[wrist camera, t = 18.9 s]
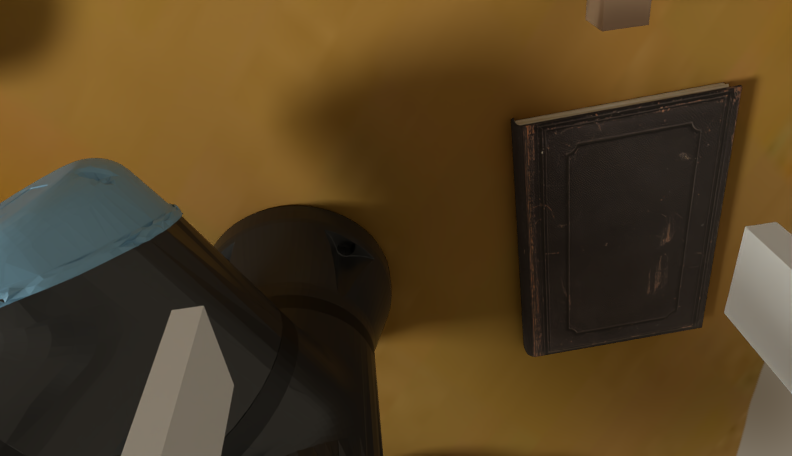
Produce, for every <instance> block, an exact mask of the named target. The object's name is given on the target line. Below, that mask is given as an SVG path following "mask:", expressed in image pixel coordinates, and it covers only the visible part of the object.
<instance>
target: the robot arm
mask: <svg viewBox="0 0 792 456" xmlns="http://www.w3.org/2000/svg"><path fill="white" fill-rule="evenodd" d="M182 214H183V213H182V212H181V210H180V209H179V207H178V206H176V205H174V204H168V203H167V202H166V201H164V200H163V199H162V198H161V197H160V196H159V195H157V194H156V193H155V192H154V191H153V190H152V189H150V188H149V187H148V186H147V185H146V184H145V183H143V182H142V181H141V180H140V179H139V178H138V177H137V176H135V175H134V174H133V173H132V172H131V171H130V170H128V169H127V168H125V167H124V166H123V165H121V164H119V163H117V162H114V161H111V160H108V159H102V158H89V159H83V160H78V161H75V162H72V163H70V164H68V165H65V166H63V167H61V168H59V169H57V170H55V171H54V172H52V173H50V174H48V175H46V176H45V177H43V178H41V179H39V180H37V181H36V182H34V183H32V184H31V185H29V186H27V187H26V188H24V189H22V190H21V191H19V192H17V193H16V194H14V195H13V196H11V197H9V198H8V199H6V200H5V201H3V202H2V203H0V456H383V448H382V437H381V425H380V413H379V401H378V389H377V377H376V365H375V353H374V351H375V349H376V346H377V343H378V341H379V338H380V335H381V333H382V330H383V327H384V325H385V322H386V319H387V317H388V314H389V310H390V305H391V296H392V293H391V281H390V273H389V267H388V264H387V260H386V258H385V255H384V253H383V251H382V250H381V248H380V246H379V245H378V244H377V242H376V241H375V240H374V239H373V237H372V236H371V235H370V234H369V233H368V232H367V231H365V230H364V229H363V228H362V227H361V226H359V225H358V224H356V223H355V222H353V221H351V220H350V219H348V218H346V217H344V216H342V215H339V214H337V213H334V212H331V211H328V210H324V209H320V208H315V207H307V206H284V207H277V208H271V209H267V210H263V211H260V212H257V213H255V214H252V215H250V216H248V217H246V218H244V219H242V220H240V221H239V222H237V223H236V224H234V225H233V226H232V227H230V228H229V229H228V230H227V231H226V232H225V233H224V234H223V235H222V236H221V237H220V238H219V240H218V241H217V242H216V244H215V245H214V246H213V245H212V244H211V243H209V242H208V241H207V240H206V239H205V238H204V237H203V236H202V235H201V234H200V233H199V232H198V231H197V230H196V229H195V228H194V227H193V226H192V225H191V224H189V223H188V222H187V221H186V220H185V219H184V218H183V217H182ZM724 313H725V315H726V316H727V317H728V318H729V319H730V321H731V322H732V323H733V324H734V325H735V327H736V328H737V329H738V330H739V331H740V333H741V334H742V335H743V336H744V337H745V339H746V340H747V341H748V342H749V343H750V345H751V346H752V347H753V348H754V349H755V351H756V352H757V353H758V354H759V355H760V357H761V358H762V359H763V360H764V361H765V363H766V364H767V365H768V366H769V367H770V369H771V370H772V371H773V372H774V373H775V375H776V376H777V377H778V378H779V379H780V380H781V382H782V383H783V384H784V385H785V386H786V388H787V389H788V390H789V391H790V392H791V394H792V235H791V234H790V233H789V232H788V231H787V230H785V229H784V228H783V227H782V226H781V225H780V224H778V223H777V222H773V223H767V224H760V225H753V226H746V227H745V230H744V234H743V238H742V242H741V246H740V250H739V254H738V258H737V263H736V267H735V271H734V275H733V279H732V283H731V287H730V291H729V295H728V299H727V303H726V307H725V311H724Z"/></svg>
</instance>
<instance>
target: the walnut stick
mask: <svg viewBox="0 0 792 456" xmlns="http://www.w3.org/2000/svg"><path fill="white" fill-rule="evenodd" d="M650 8H651V0H587V7H586V20H587V21H588V22H590V23H591V24H593V25H594V26H595V27H597V28H598V29H600V30H601V31H608V30H615V29H622V28H629V27H636V26H643V25H649V17H650Z"/></svg>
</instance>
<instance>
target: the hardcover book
mask: <svg viewBox="0 0 792 456" xmlns="http://www.w3.org/2000/svg"><path fill="white" fill-rule="evenodd" d="M741 91H742V86H741V85H738V86H733V87H729V84H724V83H718V84H713V85H707V86H702V87H696V88H691V89H685V90H680V91H674V92H669V93H664V94H658V95H653V96H647V97H642V98H636V99H631V100H625V101H620V102H614V103H609V104H603V105H598V106H593V107H587V108H582V109H576V110H571V111H565V112H560V113H554V114H549V115H543V116H538V117H532V118H527V119H521V120H516V121H514V118H512V119H511V128H512V146H513V164H514V181H515V199H516V217H517V235H518V252H519V270H520V288H521V306H522V323H523V341H524V348H525V350H526V352H527V354H528V355H530V356H533V357H537V356H543V355H548V354H554V353H560V352H565V351H571V350H577V349H582V348H588V347H594V346H599V345H605V344H611V343H616V342H622V341H628V340H633V339H639V338H645V337H650V336H656V335H662V334H667V333H673V332H679V331H684V330H690V329H696V328H701V327H702V323H703V317H704V311H705V305H706V299H707V293H708V287H709V281H710V275H711V269H712V263H713V257H714V251H715V245H716V240H717V234H718V228H719V222H720V216H721V210H722V204H723V198H724V192H725V186H726V180H727V174H728V168H729V162H730V156H731V150H732V144H733V138H734V132H735V127H736V121H737V115H738V109H739V103H740V97H741Z"/></svg>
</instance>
